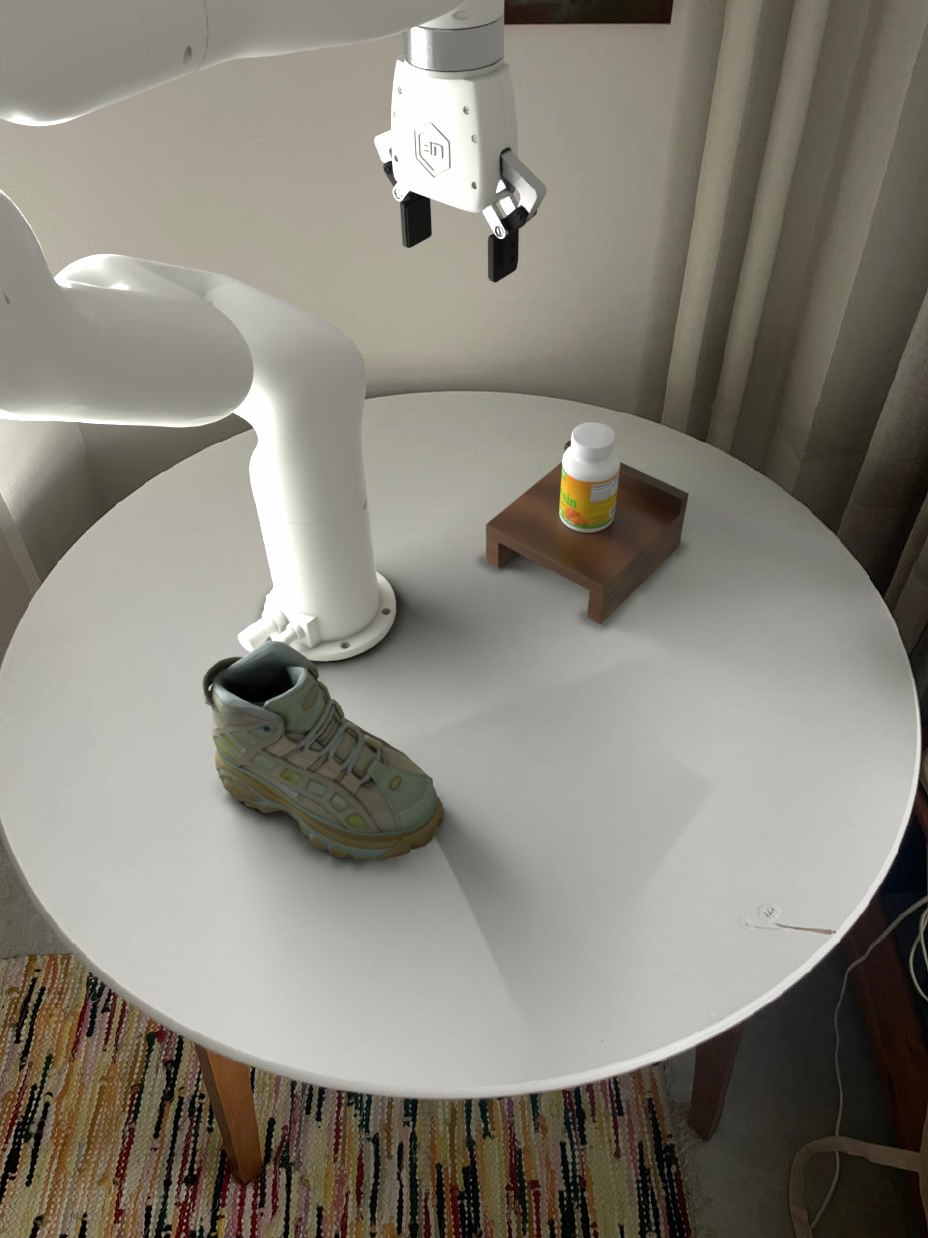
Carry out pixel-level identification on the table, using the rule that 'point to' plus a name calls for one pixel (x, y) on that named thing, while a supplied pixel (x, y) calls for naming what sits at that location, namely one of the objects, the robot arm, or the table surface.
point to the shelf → (593, 536)
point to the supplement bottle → (589, 478)
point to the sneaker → (314, 759)
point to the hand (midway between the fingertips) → (459, 258)
